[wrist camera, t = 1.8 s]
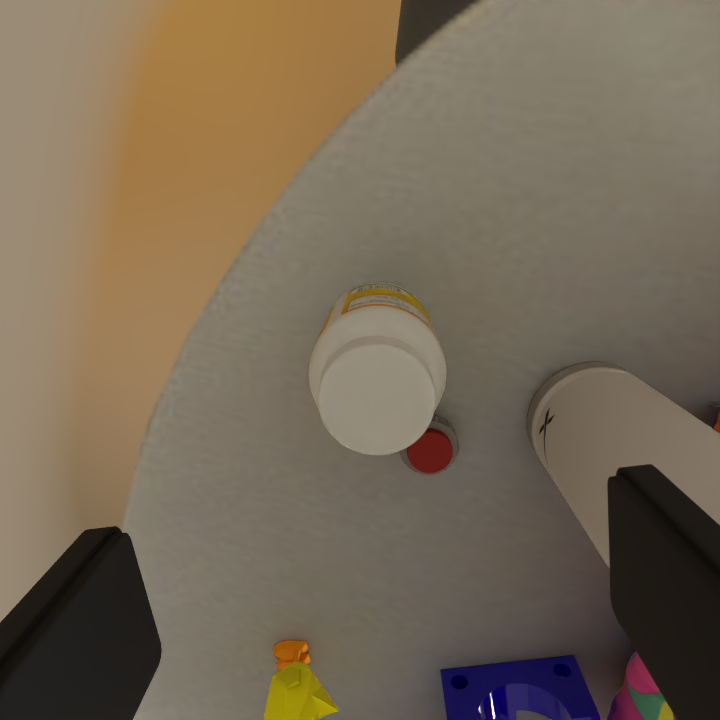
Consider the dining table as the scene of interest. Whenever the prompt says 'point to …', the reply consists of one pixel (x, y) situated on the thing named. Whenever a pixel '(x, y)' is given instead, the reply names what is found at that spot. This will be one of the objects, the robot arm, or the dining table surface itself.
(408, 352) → the supplement bottle
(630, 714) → the pencil case
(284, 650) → the toy figure
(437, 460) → the push button
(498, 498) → the dining table surface
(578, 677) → the cable holder
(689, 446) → the travel mug
